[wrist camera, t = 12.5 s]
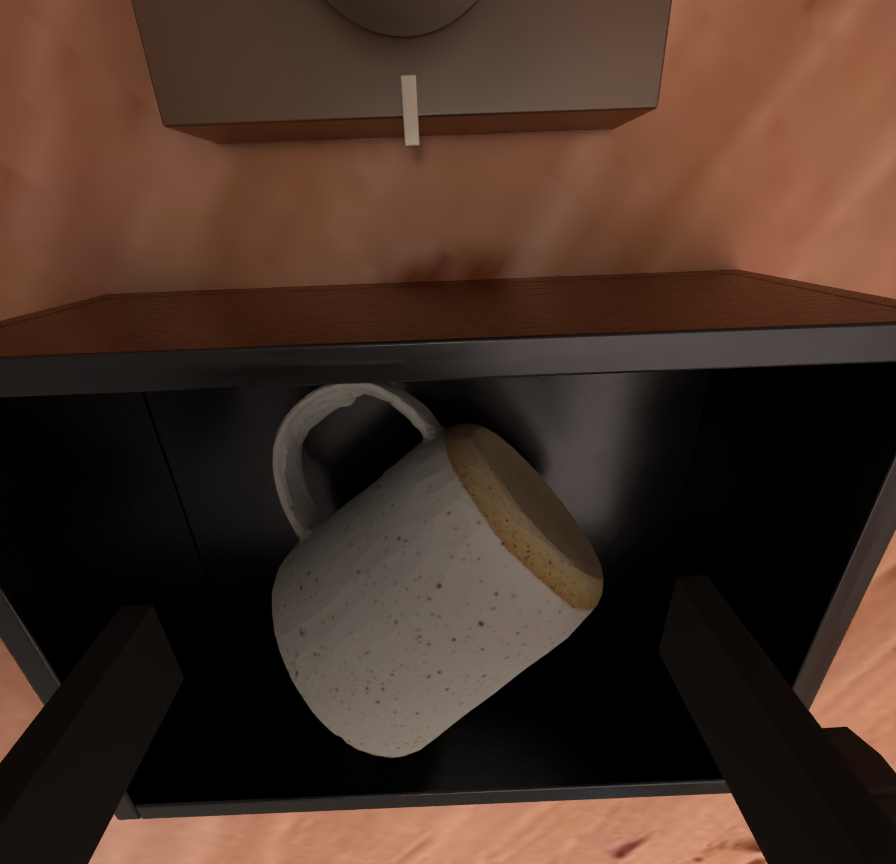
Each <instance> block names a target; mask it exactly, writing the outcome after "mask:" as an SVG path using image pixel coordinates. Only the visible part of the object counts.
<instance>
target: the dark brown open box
mask: <svg viewBox="0 0 896 864" xmlns="http://www.w3.org/2000/svg"><path fill="white" fill-rule="evenodd" d="M385 382H388V383H390V384H393V385H395V386H398V387H400V388H402V389H403V390H405V391H406V392H408V393H409V394H410V395H412V396H413V397H414V398H416V399H417V400H419V401H420V402H421V403H423V404H424V405H425V406H426V407H427V408H428V409H429V410H430V411H431V412H432V414H433V416H434V417H435V418H436V419H437V421H438V422H439V423H440V425H441V426H442V427H446V428H448V427H450V426H453V425H455V424H459V423H470V424H478V425H481V426H483V427H486V428H487V429H489V430H491V431H492V432H494V433H495V434H497V435H498V436H500V437H501V438H502V439H503V440H504V441H506V442H507V443H508V444H509V445H510V446H512V447H513V448H514V449H515V450H516V451H517V452H518V453H519V454H520V455H521V456H522V457H523V458H524V459H525V460H526V461H527V462H528V463H529V464H530V465H531V466H532V467H533V468H534V469H535V471H536V472H537V473H538V474H539V475H540V476H541V477H542V479H543V480H544V481H545V482H546V483H547V484H548V486H549V487H550V488H551V489H552V490H553V492H554V493H555V494H556V495H557V496H558V498H559V499H560V500H561V502H562V503H563V504H564V506H565V507H566V508H567V510H568V511H569V512H570V514H571V515H572V516H573V518H574V519H575V521H576V522H577V523H578V525H579V526H580V528H581V529H582V531H583V532H584V534H585V536H586V537H587V539H588V540H589V542H590V544H591V546H592V548H593V550H594V552H595V554H596V556H597V558H598V560H599V563H600V565H601V568H602V573H603V590H602V595H601V598H600V600H599V602H598V605H597V606H596V607H595V608H594V609H593V611H592V612H591V613H590V614H589V615H588V616H587V617H586V618H585V620H584V621H583V622H582V623H581V624H580V625H579V626H578V627H577V628H576V629H575V630H574V632H573V633H572V634H571V635H570V636H569V637H568V638H567V639H565V640H564V641H563V642H562V643H560V644H559V645H558V646H556V647H555V648H554V649H552V650H551V651H550V652H549V653H547V654H546V655H544V656H543V657H541V658H540V659H539V660H537V661H536V662H534V663H533V664H532V665H530V666H529V667H527V668H526V669H525V670H523V671H522V672H521V673H519V674H518V675H517V676H516V677H514V678H513V679H512V680H511V681H509V682H508V683H507V684H506V685H504V686H503V687H502V688H501V689H499V690H498V691H497V692H496V693H494V694H493V695H492V696H490V697H489V698H488V699H486V700H485V701H483V702H482V703H481V704H479V705H478V706H477V707H475V708H474V709H472V710H471V711H470V712H468V713H467V714H466V715H464V716H463V717H462V718H460V719H459V720H458V721H457V722H455V723H454V724H453V725H451V726H450V727H449V728H448V729H447V730H445V731H444V732H443V733H442V734H440V735H439V736H438V737H437V738H435V739H434V740H433V741H431V742H430V743H429V744H427V745H426V746H425V747H423V748H422V749H421V750H419V751H416V752H413V753H411V754H408V755H405V756H401V757H394V758H390V757H383V756H376V755H372V754H369V753H367V752H364V751H361V750H358V749H356V748H354V747H353V746H351V745H349V744H347V743H346V742H345V741H344V740H343V738H342V737H340V736H337V735H335V734H334V733H333V732H332V731H330V730H329V729H328V728H327V727H326V726H325V725H324V724H323V723H322V722H321V721H320V720H319V719H318V718H317V717H316V715H315V714H314V713H313V712H312V711H311V709H310V708H309V706H308V705H307V703H306V702H305V700H304V699H303V697H302V696H301V694H300V693H299V691H298V689H297V688H296V686H295V684H294V683H293V681H292V679H291V677H290V675H289V673H288V670H287V668H286V666H285V663H284V661H283V658H282V656H281V654H280V651H279V647H278V643H277V639H276V636H275V632H274V625H273V616H272V590H273V586H274V583H275V579H276V576H277V573H278V570H279V567H280V565H281V564H282V563H283V561H284V560H285V558H286V557H287V555H288V554H289V553H290V552H291V550H292V549H293V548H294V547H295V546H296V545H297V544H298V543H299V541H300V539H299V537H298V536H297V534H296V533H295V531H294V529H293V527H292V525H291V524H290V522H289V520H288V518H287V516H286V514H285V512H284V510H283V507H282V505H281V502H280V499H279V496H278V493H277V489H276V485H275V480H274V474H273V446H274V440H275V436H276V433H277V430H278V428H279V426H280V424H281V422H282V420H283V419H284V418H285V416H286V415H287V414H288V412H289V411H290V410H291V408H292V407H293V406H294V405H295V404H296V403H298V402H299V401H300V400H301V399H302V398H304V397H305V396H306V395H307V394H309V393H310V392H312V391H313V390H315V389H317V388H318V387H320V386H323V385H335V384H360V383H385ZM422 441H423V436H422V434H421V432H420V430H418V429H417V428H416V427H414V425H413V424H412V422H411V421H410V420H409V419H408V418H407V417H406V416H404V415H403V414H402V413H401V412H400V411H398V410H397V409H396V408H395V407H393V406H392V405H391V404H390V403H389V402H388V401H384V400H381V399H379V398H376V397H374V396H371V395H367V394H363V395H361V396H359V397H356V400H355V401H354V402H353V404H352V405H350V406H348V407H339V408H338V409H336V410H334V411H333V412H331V413H330V414H328V415H327V416H326V417H325V418H324V419H322V420H321V421H320V422H319V423H318V424H316V425H315V426H314V427H312V428H311V429H310V430H309V432H308V435H307V436H306V438H305V439H304V441H303V445H302V454H301V457H302V471H303V474H304V478H305V481H306V484H307V487H308V490H309V492H310V494H311V497H312V499H313V500H314V502H315V505H316V506H317V508H318V510H319V512H320V514H321V516H322V517H323V519H324V520H325V521H326V520H327V519H328V518H330V517H331V516H332V515H333V514H334V513H336V512H337V511H338V510H339V509H340V508H342V507H343V506H344V505H345V504H347V503H348V502H349V501H350V500H352V499H353V498H354V497H356V496H357V495H359V494H360V493H361V492H363V491H364V490H366V489H367V488H368V487H369V486H370V485H372V484H373V483H374V482H375V481H377V480H378V479H379V478H380V477H381V476H382V474H383V473H384V472H385V471H386V470H388V469H389V468H390V467H392V466H393V465H395V464H396V463H397V462H398V461H399V460H400V459H402V458H403V457H404V456H406V455H407V454H408V453H409V452H410V451H411V450H412V449H413V448H415V447H416V446H417V445H418V444H420V443H421V442H422ZM895 530H896V299H892V298H886V297H881V296H876V295H871V294H865V293H860V292H855V291H849V290H844V289H839V288H833V287H828V286H823V285H818V284H812V283H807V282H802V281H796V280H791V279H786V278H780V277H775V276H770V275H764V274H759V273H753V272H748V271H743V270H721V271H695V272H669V273H644V274H618V275H592V276H566V277H540V278H515V279H489V280H463V281H437V282H411V283H385V284H360V285H334V286H308V287H282V288H256V289H230V290H205V291H179V292H153V293H127V294H106V295H102V296H98V297H94V298H90V299H87V300H83V301H79V302H75V303H71V304H66V305H62V306H58V307H54V308H50V309H46V310H42V311H38V312H34V313H30V314H26V315H22V316H18V317H14V318H10V319H6V320H2V321H0V638H1V640H2V641H3V643H4V644H5V646H6V647H7V649H8V650H9V652H10V653H11V655H12V657H13V658H14V660H15V661H16V663H17V664H18V666H19V667H20V669H21V670H22V672H23V674H24V675H25V677H26V678H27V680H28V681H29V683H30V684H31V686H32V687H33V689H34V691H35V692H36V694H37V695H38V697H39V698H40V700H41V701H42V703H43V704H44V706H45V704H46V703H47V702H48V701H49V699H50V698H51V697H52V695H53V694H54V693H55V692H56V690H57V689H58V688H59V686H60V685H61V684H62V682H63V681H64V680H65V679H66V677H67V676H68V675H69V673H70V672H71V671H72V669H73V668H74V667H75V666H76V664H77V663H78V662H79V660H80V659H81V658H82V657H83V655H84V654H85V653H86V651H87V650H88V649H89V647H90V646H91V645H92V644H93V642H94V641H95V640H96V638H97V637H98V636H99V634H100V633H101V632H102V631H103V629H104V628H105V627H106V625H107V624H108V623H109V622H110V620H111V619H112V618H113V616H114V615H115V614H116V612H117V611H118V610H119V609H120V607H121V606H133V605H151V604H153V606H154V609H155V611H156V613H157V616H158V618H159V620H160V622H161V625H162V627H163V629H164V632H165V634H166V636H167V638H168V641H169V643H170V645H171V648H172V650H173V652H174V654H175V657H176V659H177V661H178V664H179V666H180V668H181V670H182V673H183V675H184V677H185V678H184V680H183V682H182V684H181V686H180V688H179V690H178V692H177V694H176V695H175V697H174V699H173V701H172V703H171V705H170V707H169V709H168V711H167V713H166V715H165V717H164V719H163V720H162V722H161V724H160V726H159V728H158V730H157V732H156V734H155V736H154V738H153V740H152V742H151V744H150V745H149V747H148V749H147V751H146V753H145V755H144V757H143V759H142V761H141V763H140V765H139V767H138V769H137V771H136V772H135V774H134V776H133V778H132V780H131V782H130V784H129V786H128V788H127V790H126V792H125V794H124V796H123V797H122V799H121V801H120V803H119V805H118V807H117V809H116V811H115V813H114V814H115V816H116V817H117V819H119V820H126V819H140V818H141V817H142V818H143V819H151V818H174V817H197V816H220V815H242V814H265V813H288V812H311V811H334V810H357V809H380V808H402V807H425V806H448V805H471V804H494V803H517V802H540V801H562V800H585V799H608V798H631V797H654V796H677V795H700V794H722V793H731V791H730V790H729V788H728V786H727V784H726V782H725V780H724V778H723V776H722V774H721V772H720V770H719V768H718V766H717V764H716V762H715V760H714V759H713V757H712V755H711V753H710V751H709V749H708V747H707V745H706V743H705V741H704V739H703V737H702V735H701V733H700V731H699V729H698V727H697V726H696V724H695V722H694V720H693V718H692V716H691V714H690V712H689V710H688V708H687V706H686V704H685V702H684V700H683V698H682V696H681V695H680V693H679V691H678V689H677V687H676V685H675V683H674V681H673V679H672V677H671V675H670V673H669V671H668V669H667V667H666V665H665V663H664V662H663V660H662V658H661V656H660V654H659V652H658V650H659V646H660V642H661V638H662V634H663V630H664V626H665V622H666V618H667V614H668V609H669V605H670V601H671V597H672V593H673V589H674V585H675V581H676V577H680V576H698V575H707V576H708V578H709V579H710V580H711V582H712V583H713V584H714V586H715V587H716V588H717V590H718V591H719V592H720V594H721V595H722V596H723V598H724V599H725V600H726V602H727V603H728V604H729V606H730V607H731V608H732V610H733V611H734V612H735V614H736V615H737V616H738V618H739V619H740V620H741V622H742V623H743V624H744V625H745V627H746V628H747V629H748V631H749V632H750V633H751V635H752V636H753V637H754V639H755V640H756V641H757V643H758V644H759V645H760V647H761V648H762V649H763V651H764V652H765V653H766V655H767V656H768V657H769V659H770V660H771V661H772V663H773V664H774V665H775V667H776V668H777V669H778V671H779V672H780V673H781V675H782V676H783V677H784V679H785V680H786V681H787V683H788V684H789V685H790V687H791V688H792V689H793V690H794V692H795V693H796V694H797V696H798V697H799V698H800V700H801V701H802V702H803V704H804V705H805V706H806V708H807V709H808V710H809V709H810V707H811V705H812V703H813V701H814V699H815V696H816V694H817V692H818V690H819V688H820V686H821V684H822V682H823V680H824V678H825V676H826V674H827V671H828V669H829V667H830V665H831V663H832V661H833V659H834V657H835V655H836V653H837V651H838V649H839V646H840V644H841V642H842V640H843V638H844V636H845V634H846V632H847V630H848V628H849V626H850V624H851V622H852V619H853V617H854V615H855V613H856V611H857V609H858V607H859V605H860V603H861V601H862V599H863V597H864V594H865V592H866V590H867V588H868V586H869V584H870V582H871V580H872V578H873V576H874V574H875V572H876V569H877V567H878V565H879V563H880V561H881V559H882V557H883V555H884V553H885V551H886V549H887V547H888V544H889V542H890V540H891V538H892V536H893V534H894V532H895Z"/></svg>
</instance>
